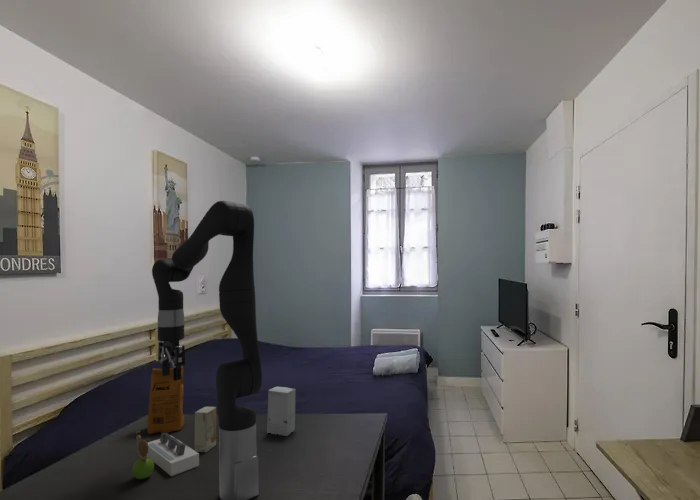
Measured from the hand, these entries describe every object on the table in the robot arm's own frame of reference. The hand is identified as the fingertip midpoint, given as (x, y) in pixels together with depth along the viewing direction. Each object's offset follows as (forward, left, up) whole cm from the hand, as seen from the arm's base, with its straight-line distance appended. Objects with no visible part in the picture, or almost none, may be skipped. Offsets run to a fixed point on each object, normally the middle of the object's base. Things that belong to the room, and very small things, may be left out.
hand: (171, 377), depth 123 cm
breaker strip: (+5, 0, -25) cm, 25 cm away
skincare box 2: (-8, -35, -25) cm, 44 cm away
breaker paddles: (0, 0, -21) cm, 21 cm away
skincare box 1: (0, -11, -25) cm, 27 cm away
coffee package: (+27, -9, -25) cm, 38 cm away
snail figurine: (-4, +10, -25) cm, 27 cm away
